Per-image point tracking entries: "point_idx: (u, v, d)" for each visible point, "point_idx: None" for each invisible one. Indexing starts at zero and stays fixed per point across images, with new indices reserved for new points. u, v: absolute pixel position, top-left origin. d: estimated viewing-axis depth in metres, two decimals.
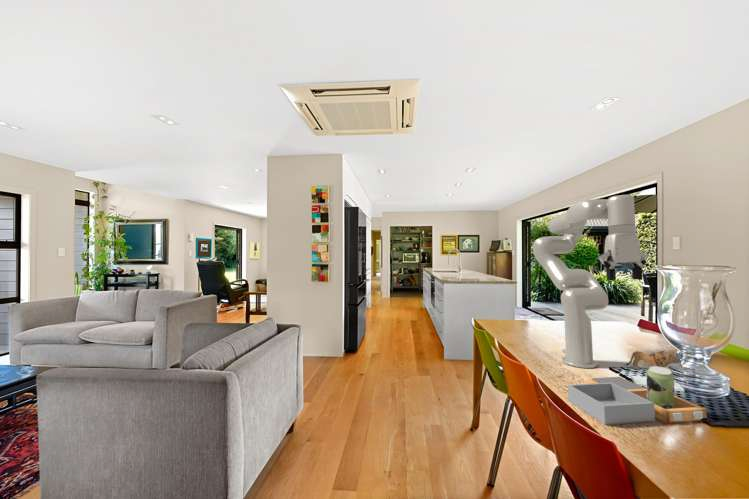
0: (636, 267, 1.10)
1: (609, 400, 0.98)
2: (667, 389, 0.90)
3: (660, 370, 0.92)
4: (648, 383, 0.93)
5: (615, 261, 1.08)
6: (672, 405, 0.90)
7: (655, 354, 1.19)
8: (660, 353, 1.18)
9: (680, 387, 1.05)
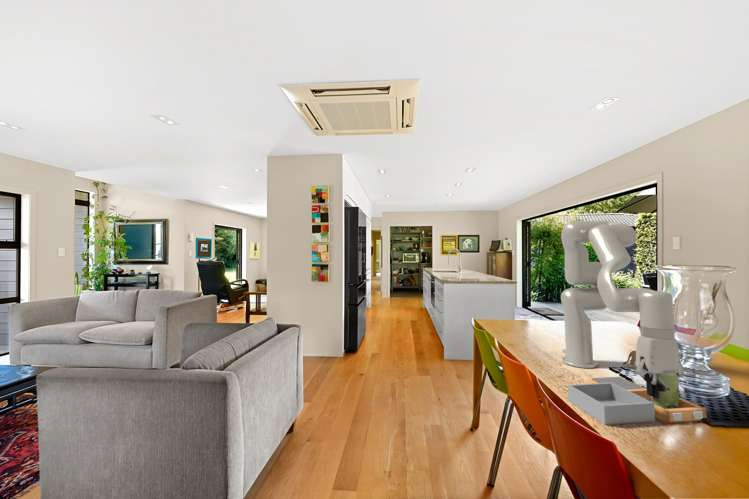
0: None
1: (609, 400, 0.98)
2: (671, 389, 0.89)
3: None
4: None
5: (650, 372, 0.91)
6: (676, 405, 0.90)
7: None
8: None
9: (680, 387, 1.05)
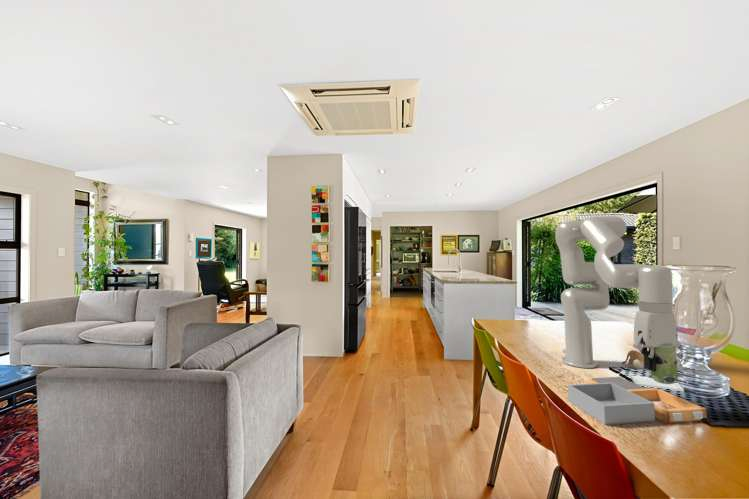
0: None
1: (609, 400, 0.98)
2: (668, 362, 0.90)
3: None
4: None
5: (647, 345, 0.92)
6: (675, 378, 0.91)
7: None
8: None
9: (680, 387, 1.05)
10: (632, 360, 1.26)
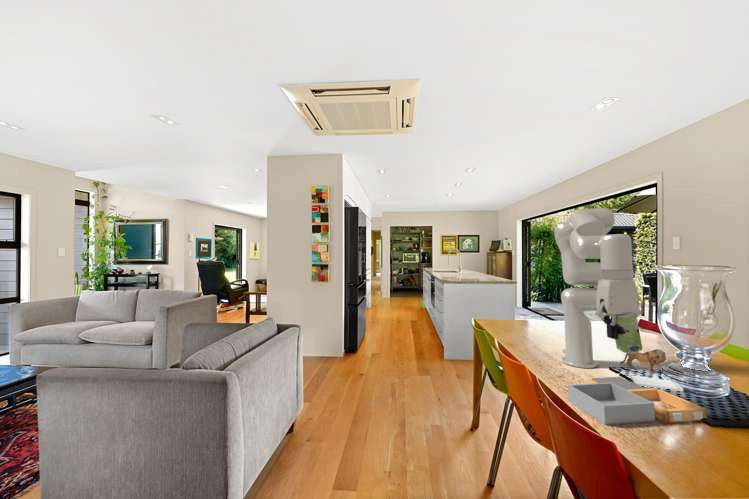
0: None
1: (609, 400, 0.98)
2: (630, 331, 0.90)
3: None
4: None
5: (609, 313, 0.91)
6: (639, 346, 0.90)
7: (649, 353, 1.21)
8: (654, 352, 1.20)
9: (679, 387, 1.05)
10: (630, 360, 1.26)
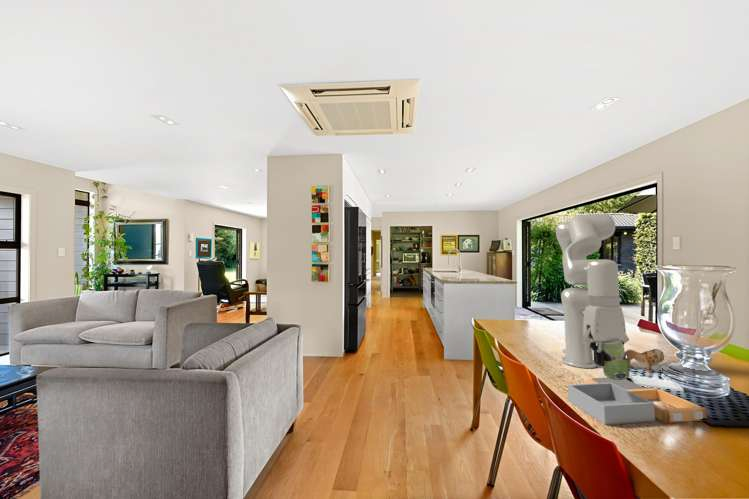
0: None
1: (609, 400, 0.98)
2: (617, 358, 0.89)
3: None
4: None
5: (595, 340, 0.91)
6: (625, 373, 0.90)
7: (647, 352, 1.22)
8: (652, 351, 1.21)
9: (679, 387, 1.05)
10: (629, 359, 1.27)
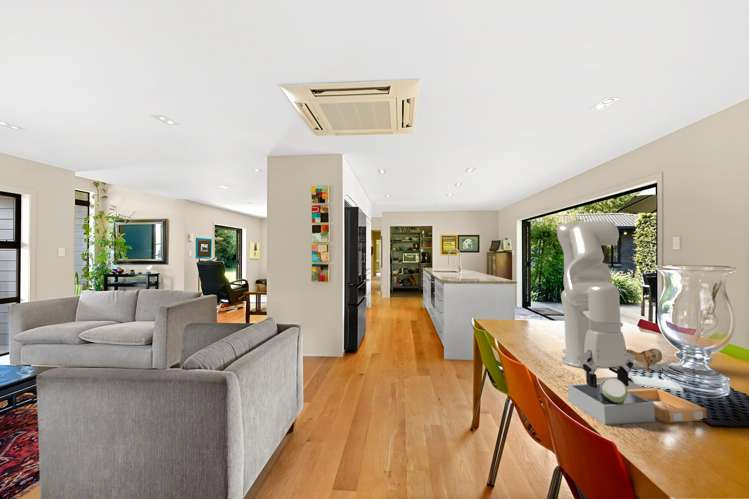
0: (621, 370, 0.93)
1: None
2: (622, 402, 0.87)
3: (614, 386, 0.86)
4: (603, 397, 0.89)
5: (596, 365, 0.91)
6: None
7: (645, 352, 1.22)
8: (650, 351, 1.21)
9: (679, 387, 1.05)
10: None
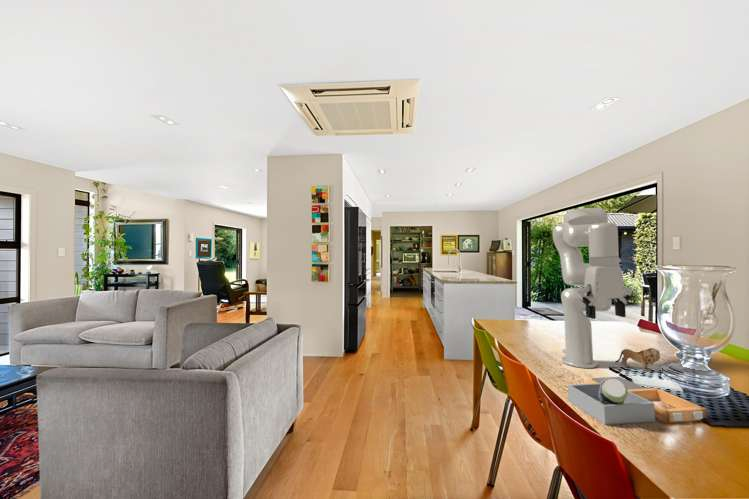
0: (619, 303, 0.99)
1: None
2: (622, 402, 0.87)
3: (614, 386, 0.86)
4: (603, 397, 0.89)
5: (595, 297, 0.97)
6: None
7: (643, 352, 1.23)
8: (648, 350, 1.22)
9: (678, 387, 1.05)
10: (625, 359, 1.28)
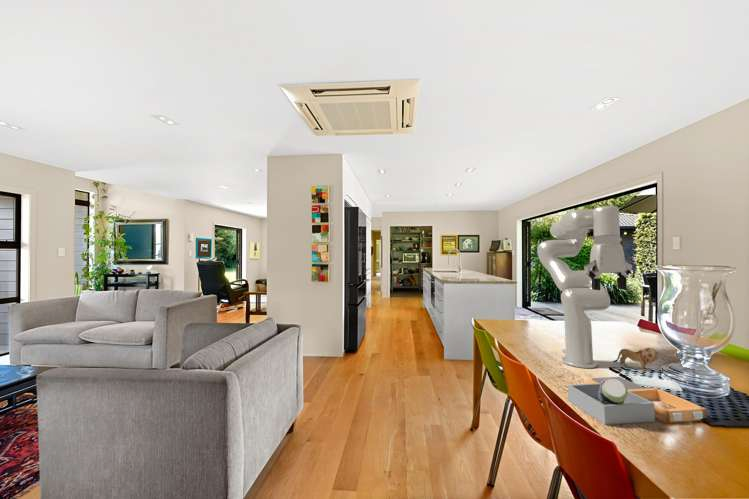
0: (621, 277, 1.12)
1: None
2: (622, 402, 0.87)
3: (614, 386, 0.86)
4: (603, 397, 0.89)
5: (600, 271, 1.10)
6: None
7: (642, 351, 1.23)
8: (646, 350, 1.22)
9: (678, 387, 1.05)
10: (624, 358, 1.28)
